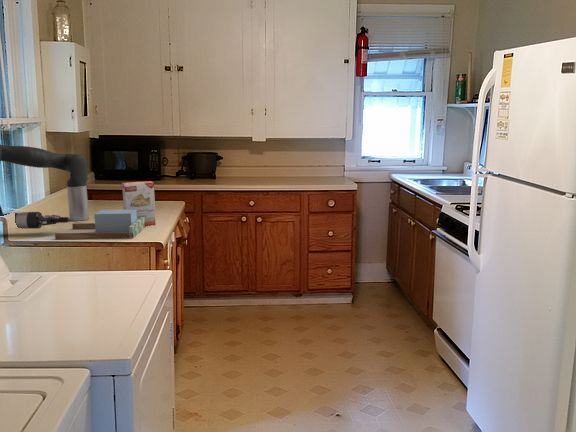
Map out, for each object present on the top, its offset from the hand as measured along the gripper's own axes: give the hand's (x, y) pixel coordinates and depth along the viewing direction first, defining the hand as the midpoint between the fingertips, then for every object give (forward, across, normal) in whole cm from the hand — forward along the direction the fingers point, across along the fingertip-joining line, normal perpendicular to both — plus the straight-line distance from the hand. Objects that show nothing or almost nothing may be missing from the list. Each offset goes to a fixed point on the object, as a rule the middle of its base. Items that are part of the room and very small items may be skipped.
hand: (68, 219), depth 250 cm
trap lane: (+15, 0, +6) cm, 16 cm away
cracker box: (+28, +17, +7) cm, 33 cm away
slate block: (+21, 0, +7) cm, 22 cm away
